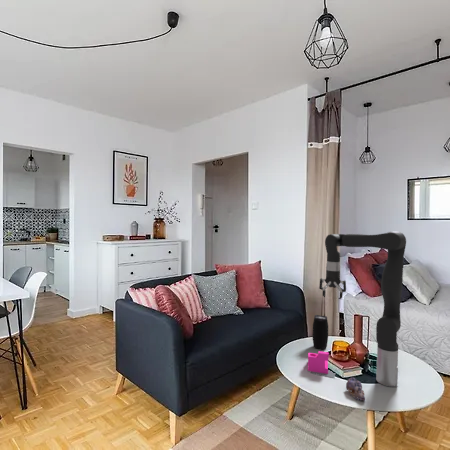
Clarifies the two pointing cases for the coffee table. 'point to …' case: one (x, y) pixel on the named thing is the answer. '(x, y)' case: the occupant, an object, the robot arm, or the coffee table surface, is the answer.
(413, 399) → the coffee table surface
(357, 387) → the purple rock
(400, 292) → the robot arm
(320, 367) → the bracket
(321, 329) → the portable speaker
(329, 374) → the grey mat
